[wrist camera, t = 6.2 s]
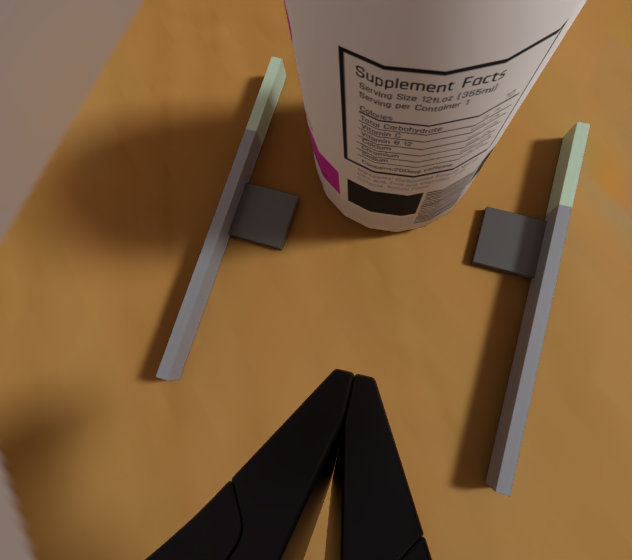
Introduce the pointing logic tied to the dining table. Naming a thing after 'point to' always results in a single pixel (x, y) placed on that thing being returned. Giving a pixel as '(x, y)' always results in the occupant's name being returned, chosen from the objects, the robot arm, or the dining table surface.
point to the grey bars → (490, 251)
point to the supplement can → (415, 94)
